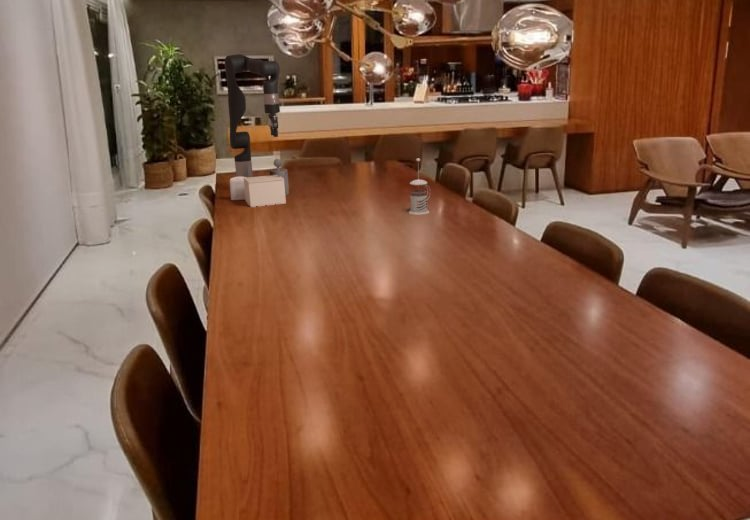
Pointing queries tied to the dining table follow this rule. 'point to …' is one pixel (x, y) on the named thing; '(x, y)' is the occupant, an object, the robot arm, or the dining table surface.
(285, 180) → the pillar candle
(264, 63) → the robot arm
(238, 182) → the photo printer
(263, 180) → the carton lid
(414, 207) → the french press
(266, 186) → the carton
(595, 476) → the dining table surface
